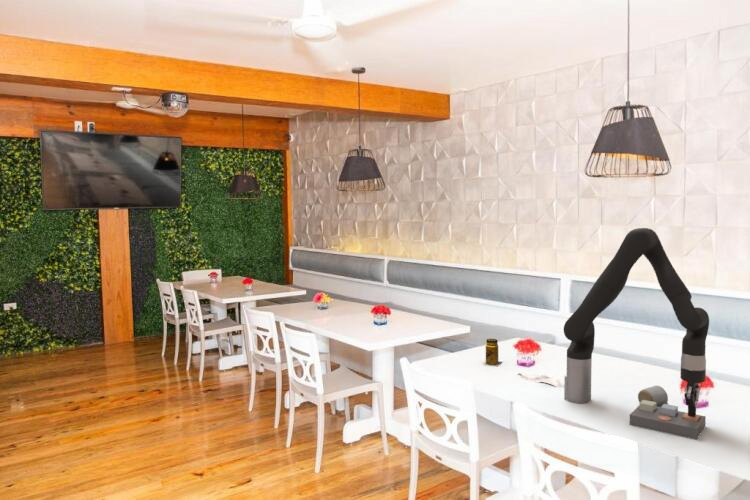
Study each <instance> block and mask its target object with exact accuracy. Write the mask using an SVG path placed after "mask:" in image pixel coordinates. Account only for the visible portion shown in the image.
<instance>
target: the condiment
mask: <svg viewBox="0 0 750 500" xmlns="http://www.w3.org/2000/svg"><path fill="white" fill-rule="evenodd" d="M485 343H486V344H485V362H484V363H483V365H485V366H492V367H493V366H494V367H495V366H496V367H499V366H501V365H500V364H502V363H503V361H501V360H500V361H499V344H498V339H496V338H487V339H486V342H485Z"/></svg>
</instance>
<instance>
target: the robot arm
mask: <svg viewBox="0 0 750 500" xmlns="http://www.w3.org/2000/svg"><path fill="white" fill-rule="evenodd" d="M642 256H644V257H645V258H646V260H647V261H648V262H649V263H650V265H651V267H652V269H653V271H654V273H655V276H656V279H657V282H658V285H659V287H660V289H661V290H662V292H663V294H664V296H665V297H666V298H667V299H668V301H669V303H671V306H672V309H673V311H674V314H675V316H676V319H677V320H678V323H680V325H681V326H682V327H683V328H684V329H685V331H686V332H685V335H684V337H683V338H682V341H681V356H680V376H679V377H680V379H681V380H682V381H684V382H686V385H685V386H684V391H685V392H684V394H683V396H684V400H685V405H686V406H687V413H688V416H691V417H695V416H696V415H697V405H698V402H699V398H700V391H701V385H699V384H700V383H701V384H703V383H705V382H706V380H707V379H706V376H707V375H706V374H707V373H706V371H707V370H706V369H707V368H706V367H707V359H706V341H707V337H708V334H709V333H708V332H709V327H710V318H709V317H710V316H709V313H708V312H707V310H705V309H704V308H702V307H695V306H694V304H693V302H692V297H693V296H692V294H691V292H690V291H689V288H687V286H686V284H685V282H683V280H682V279H681V277H680V276H679V274H678V272H677V271H676V270H675V268H674V266H673V265H672V263H671V261H670V259H669V257H668V255H667V253H666V250H665V249H664V246H663V244H662V242H661V240H660V238H659V236H658V234H657V232H656V231H654V230H653V229H652V228H649V227H648V228H647V227H638V228H634V229H631V230H630V231H629V232H627V234H626V236H625V237H624V239H623V241H622V242H621V244H620V246H619V248H618V250H617V252H616V253H615V255H614V257H613V258H612V259H611V260H610V262H609V263H608V264H607V266H606V267H605V269H604V270H603V271H602V273H601V274H600V275H599V277H598V278H597V279H596V281H595V282H594V284H593V285H592V287H591V288H590V290H589V291H588V293H587V294H586V295H585V296H584V297H585V298H583V300H582V302H581V303H580V305H579V307H578V308H577V309H576V310H575V311H574V312H573V314H571V315H570V317H569V318H568V319H567V320H566V321H565V323H564V326H563V334H564V336H565V338H566V339H567V340H568V341H571V342H570V345H569V346H568V347H567V349H566V374H565V375H564V385H565V386H564V390H563V391H564V393H563V394H564V396H563V397H564V400H567V401H569V402H570V403H576V404H587V403H590V402H591V400H592V362H593V361H592V360H593V359H592V355H593V351H594V349H595V337H596V336H595V334H596V333H595V332H596V331H595V330H596V329H595V323H594V320H595V319H596V318H597V317H598V316H599V315H601V313H602V312H604V310H606V309H608V307H609V306H611V304H612V303H614V301H616V299H617V298H618V296H619V295H620V294H621V292H622V291H623V290H624V288H625V286H626V284H627V281H628V278H629V275H630V272H631V270H632V268H633V267H634V265H635V264H636V263H637V261H638V260H640V258H641V257H642Z"/></svg>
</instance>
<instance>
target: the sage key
mask: <svg viewBox="0 0 750 500" xmlns="http://www.w3.org/2000/svg"><path fill="white" fill-rule="evenodd" d="M638 406H639V410H642V411H647V412H652V413H654V412H655V411H656V402H652V401H647V400H642V401H641V402H639V405H638Z"/></svg>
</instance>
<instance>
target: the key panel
mask: <svg viewBox="0 0 750 500" xmlns="http://www.w3.org/2000/svg"><path fill="white" fill-rule="evenodd" d="M685 413H687V412H685V411H680V410H678V415H677V416H676V417H672V416H667V415H662V414H661V407H656V411H655V412H654V413H652V412H647V411H642V410H639V405H638V406H637V407H636V408H635V409H634V410H633V411H632V412H631V413H629V426H632V427H633V426H634V427H638V428H642V429H648V430H652V431H657V432H660V433H665V434H670V435H675V436H680V437H684V438H688V437H689V438H688V439H692V438H694V440H697V439H698V438H699V437H700V435H701V434H702V432H703V431H704V429H705V428H704V427H706V415H701V414H699V415H700V420H699V421H698V422H697V421H692V420H687V419H683V415H684V414H685ZM702 430H703V431H702ZM700 433H701V434H700ZM698 436H699V437H698Z"/></svg>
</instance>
